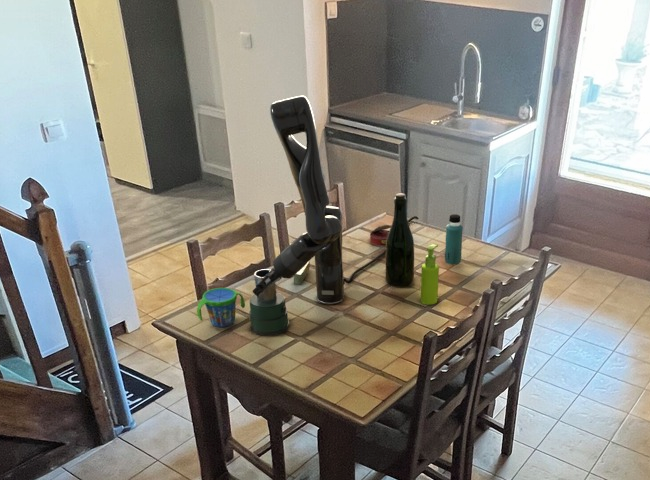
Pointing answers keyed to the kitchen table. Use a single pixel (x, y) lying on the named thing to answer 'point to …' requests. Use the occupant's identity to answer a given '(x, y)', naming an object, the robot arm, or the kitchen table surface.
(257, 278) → the tumbler
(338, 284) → the robot arm
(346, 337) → the kitchen table surface
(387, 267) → the wine bottle
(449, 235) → the beverage bottle
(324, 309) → the kitchen table surface
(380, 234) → the canned food
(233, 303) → the snack cup
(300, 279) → the medication box
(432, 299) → the soap dispenser
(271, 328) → the green lidded canister
